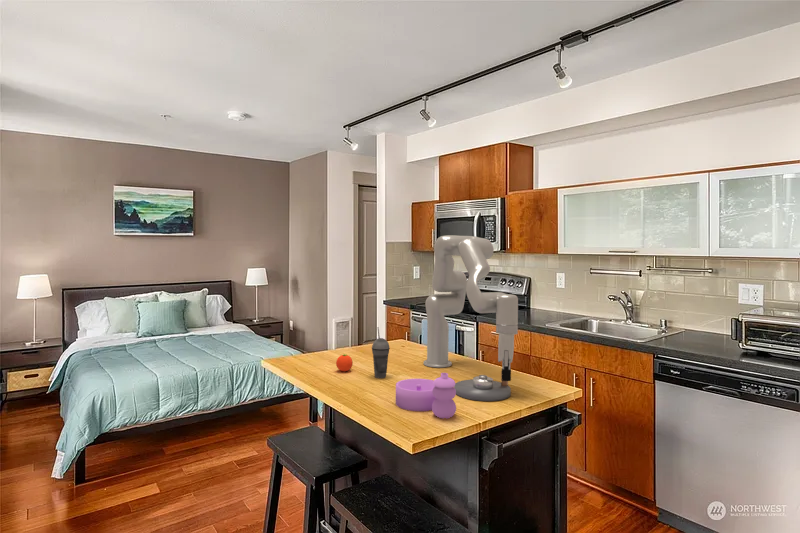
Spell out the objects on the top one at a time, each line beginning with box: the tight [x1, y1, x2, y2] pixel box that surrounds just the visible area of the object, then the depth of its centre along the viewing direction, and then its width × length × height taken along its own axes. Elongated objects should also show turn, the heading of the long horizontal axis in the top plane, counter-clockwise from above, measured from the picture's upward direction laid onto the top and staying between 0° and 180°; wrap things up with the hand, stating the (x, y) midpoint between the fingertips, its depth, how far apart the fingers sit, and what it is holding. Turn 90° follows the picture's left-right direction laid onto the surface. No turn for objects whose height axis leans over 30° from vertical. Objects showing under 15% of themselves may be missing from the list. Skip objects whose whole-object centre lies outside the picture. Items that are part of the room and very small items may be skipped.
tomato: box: [335, 353, 354, 373], centre depth 199 cm, size 8×7×7 cm
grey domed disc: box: [454, 370, 512, 402], centre depth 171 cm, size 20×20×7 cm
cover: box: [472, 374, 494, 390], centre depth 170 cm, size 7×7×4 cm
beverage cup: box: [371, 326, 391, 379], centre depth 190 cm, size 7×7×20 cm
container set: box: [395, 372, 457, 419], centre depth 154 cm, size 25×15×13 cm, turn 33°
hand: (506, 380), depth 169 cm, fingers closed
